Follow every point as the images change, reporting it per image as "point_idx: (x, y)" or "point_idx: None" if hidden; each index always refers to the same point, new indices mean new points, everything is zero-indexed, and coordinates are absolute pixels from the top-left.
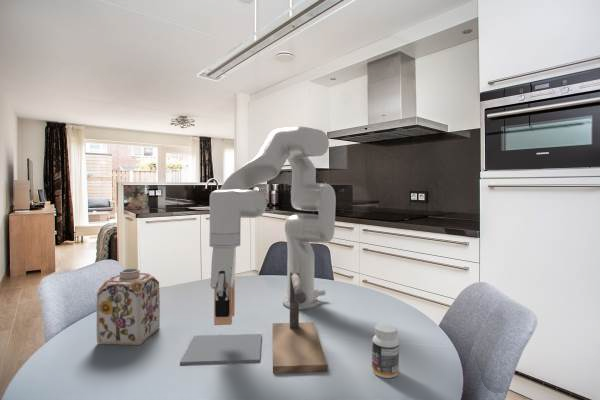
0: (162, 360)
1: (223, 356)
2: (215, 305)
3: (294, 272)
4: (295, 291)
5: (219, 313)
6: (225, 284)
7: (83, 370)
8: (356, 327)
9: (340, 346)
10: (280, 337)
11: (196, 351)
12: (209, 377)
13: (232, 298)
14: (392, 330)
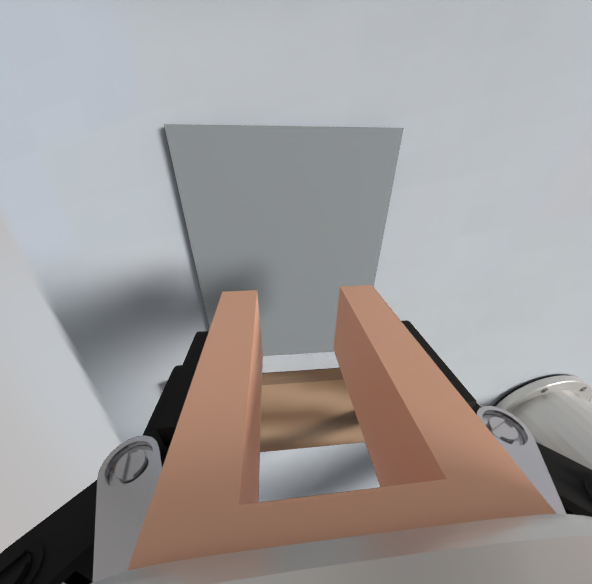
0: (191, 15)
1: (224, 275)
2: (174, 386)
3: None
4: None
5: (177, 369)
6: None
7: None
8: (362, 474)
9: (288, 458)
10: (314, 394)
11: (255, 176)
12: (113, 252)
13: (362, 422)
14: None
